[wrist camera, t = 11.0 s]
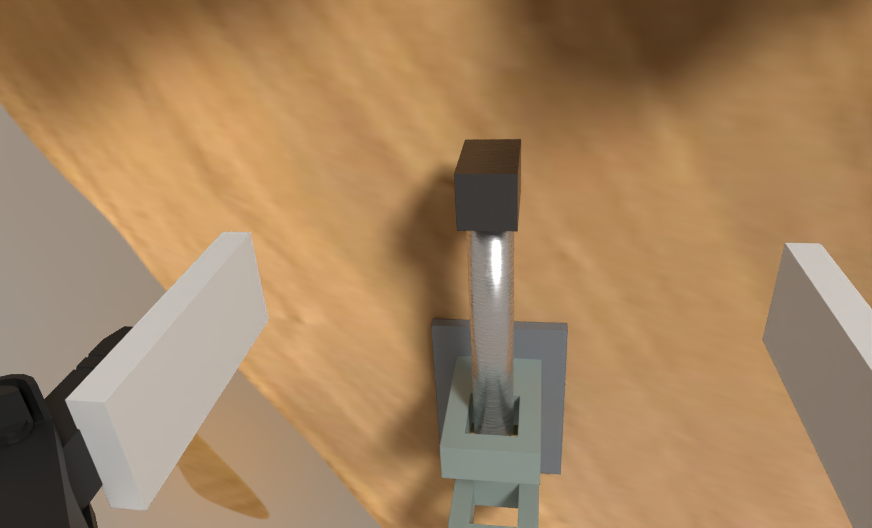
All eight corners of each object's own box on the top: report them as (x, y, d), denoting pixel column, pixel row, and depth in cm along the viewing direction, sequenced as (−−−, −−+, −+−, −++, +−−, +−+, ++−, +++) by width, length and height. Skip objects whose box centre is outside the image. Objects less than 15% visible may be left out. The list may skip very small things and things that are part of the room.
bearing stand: (560, 466, 61) (563, 577, 51) (442, 458, 63) (423, 565, 53) (567, 323, 53) (572, 422, 43) (433, 318, 55) (408, 413, 45)
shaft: (519, 399, 53) (516, 454, 47) (474, 397, 53) (466, 451, 48) (521, 139, 42) (517, 174, 37) (465, 139, 43) (454, 174, 37)
